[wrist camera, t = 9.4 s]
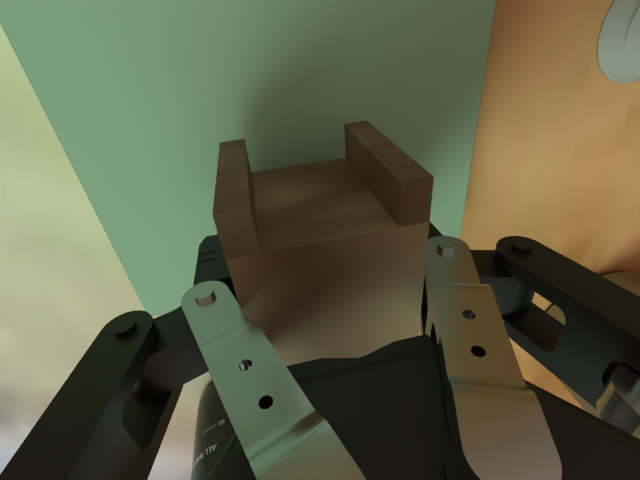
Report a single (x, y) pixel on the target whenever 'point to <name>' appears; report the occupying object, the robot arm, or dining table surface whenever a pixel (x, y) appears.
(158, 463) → the dining table surface
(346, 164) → the wooden channel cradle
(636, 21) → the chalice
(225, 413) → the supplement bottle
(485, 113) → the dining table surface
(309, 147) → the green
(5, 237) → the dining table surface
